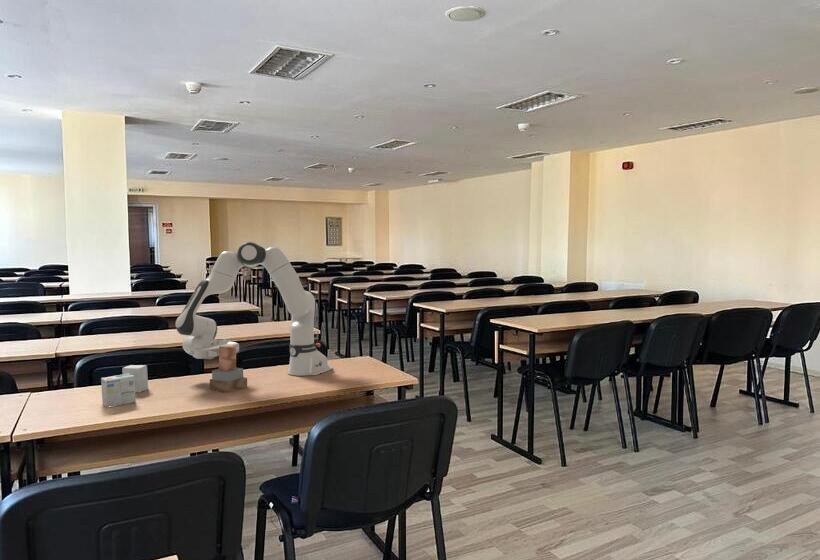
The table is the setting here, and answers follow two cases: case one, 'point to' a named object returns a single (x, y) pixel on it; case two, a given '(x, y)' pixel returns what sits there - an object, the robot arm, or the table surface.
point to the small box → (138, 376)
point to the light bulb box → (118, 390)
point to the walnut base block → (228, 385)
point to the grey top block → (227, 375)
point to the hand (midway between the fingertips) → (226, 352)
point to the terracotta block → (227, 357)
